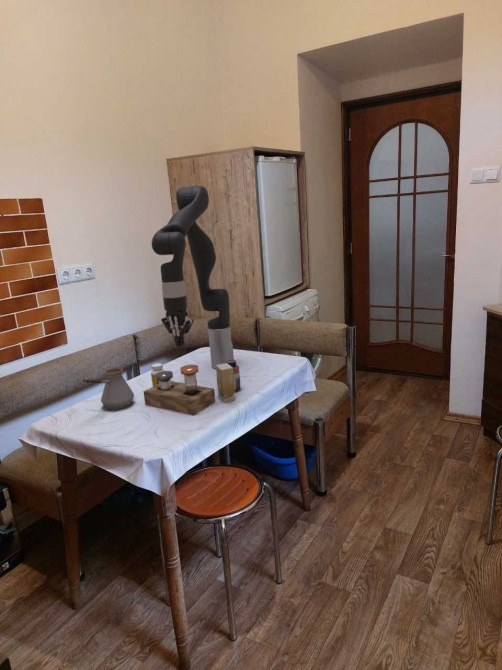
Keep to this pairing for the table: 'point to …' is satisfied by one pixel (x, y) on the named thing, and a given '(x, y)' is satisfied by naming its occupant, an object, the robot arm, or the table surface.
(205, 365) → the table surface
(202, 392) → the socket board
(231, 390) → the skincare box
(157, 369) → the supplement bottle
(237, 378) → the supplement bottle
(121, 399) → the coffee pot
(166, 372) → the plug grey
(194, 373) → the plug rust
